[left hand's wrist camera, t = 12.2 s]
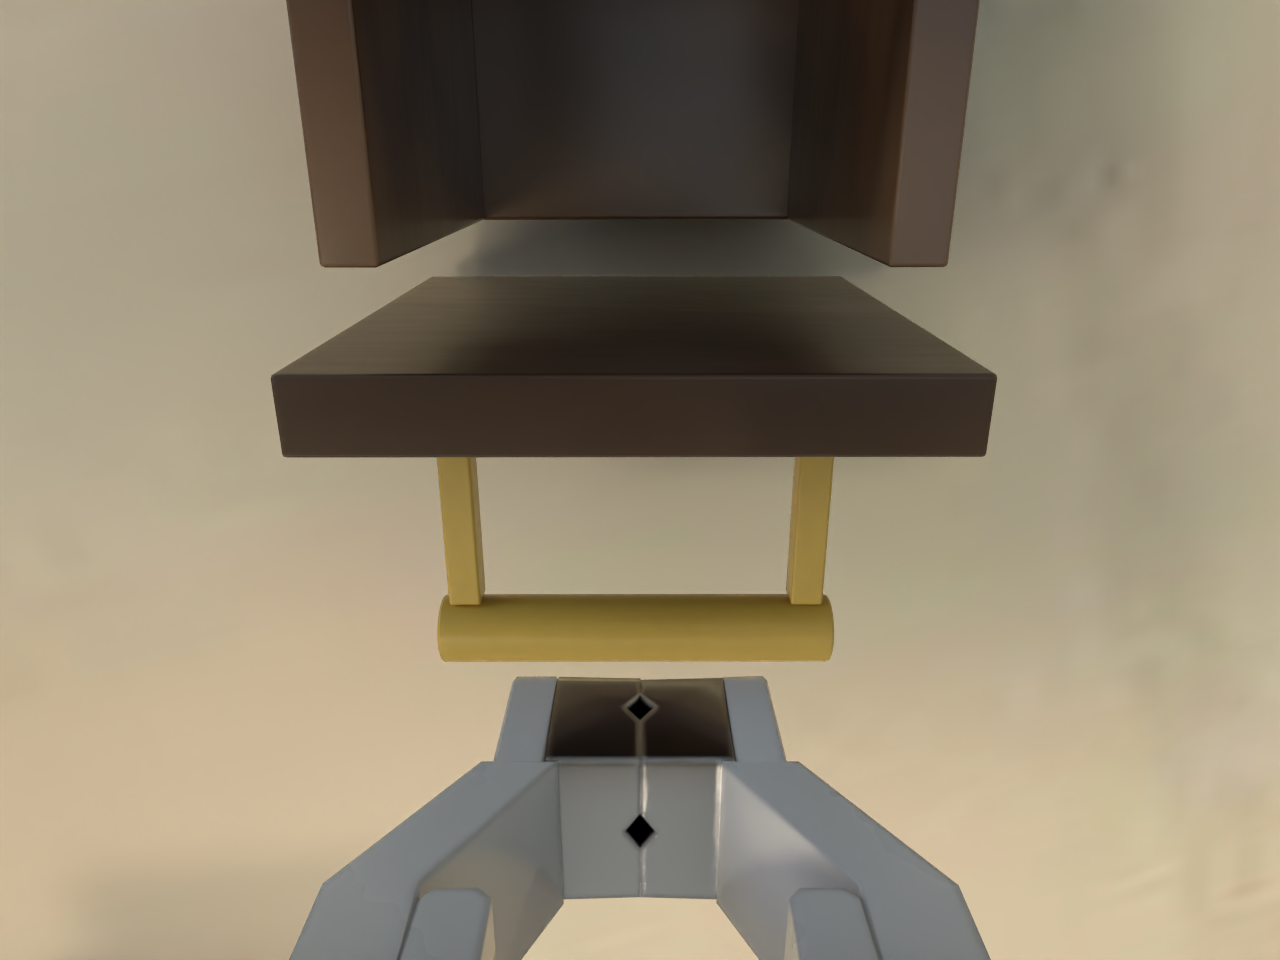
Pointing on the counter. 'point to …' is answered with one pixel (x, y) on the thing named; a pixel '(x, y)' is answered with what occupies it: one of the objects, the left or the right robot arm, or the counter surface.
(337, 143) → the drawer
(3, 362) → the counter surface
